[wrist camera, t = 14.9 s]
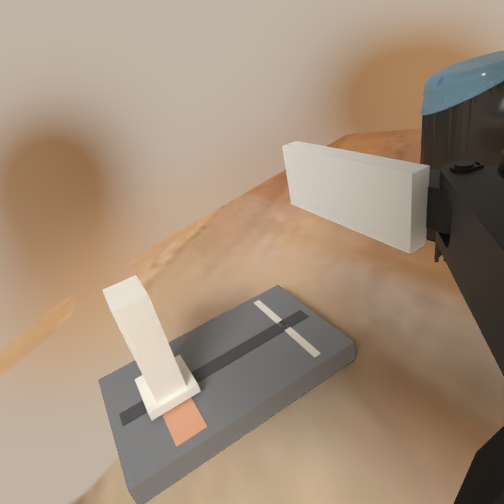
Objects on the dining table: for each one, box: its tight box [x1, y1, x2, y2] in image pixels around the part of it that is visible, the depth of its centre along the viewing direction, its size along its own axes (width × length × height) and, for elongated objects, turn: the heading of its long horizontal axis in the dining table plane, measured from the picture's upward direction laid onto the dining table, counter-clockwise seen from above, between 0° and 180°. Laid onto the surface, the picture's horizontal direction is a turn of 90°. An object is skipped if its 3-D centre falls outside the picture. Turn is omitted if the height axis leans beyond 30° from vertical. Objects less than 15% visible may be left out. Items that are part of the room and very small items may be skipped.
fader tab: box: [102, 275, 201, 421], centre depth 33 cm, size 5×5×12 cm
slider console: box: [99, 285, 356, 504], centre depth 39 cm, size 24×14×3 cm, turn 121°
